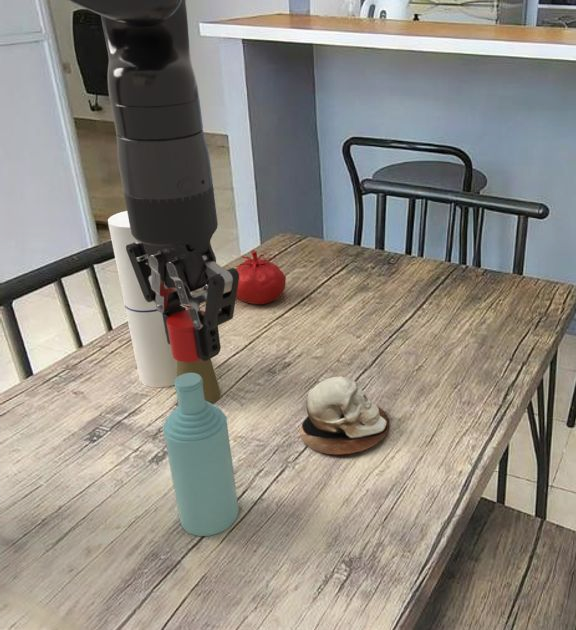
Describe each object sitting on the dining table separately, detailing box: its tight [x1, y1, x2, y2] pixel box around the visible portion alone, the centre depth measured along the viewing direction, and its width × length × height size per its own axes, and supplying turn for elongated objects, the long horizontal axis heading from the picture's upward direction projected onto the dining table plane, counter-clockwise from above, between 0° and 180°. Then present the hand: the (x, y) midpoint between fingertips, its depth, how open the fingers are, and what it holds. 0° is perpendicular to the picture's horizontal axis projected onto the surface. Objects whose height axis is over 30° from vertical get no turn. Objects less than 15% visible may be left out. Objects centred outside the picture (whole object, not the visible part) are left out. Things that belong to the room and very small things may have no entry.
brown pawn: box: [176, 358, 222, 404], centre depth 96 cm, size 6×6×11 cm
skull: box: [299, 375, 391, 455], centre depth 92 cm, size 12×10×10 cm
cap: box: [167, 309, 205, 362], centre depth 67 cm, size 4×4×4 cm
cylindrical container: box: [107, 210, 177, 389], centre depth 97 cm, size 7×7×25 cm
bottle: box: [162, 373, 240, 537], centre depth 73 cm, size 6×6×18 cm
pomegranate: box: [235, 250, 287, 305], centre depth 125 cm, size 10×10×9 cm
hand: (193, 348), depth 68 cm, fingers closed on cap, 4 cm apart
